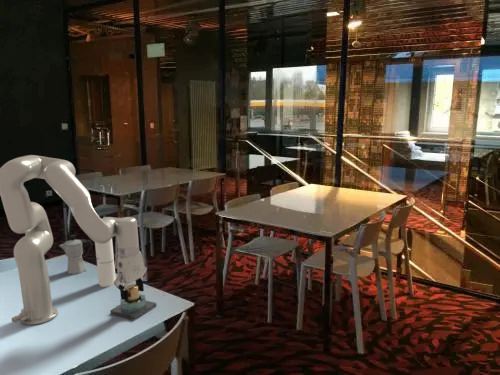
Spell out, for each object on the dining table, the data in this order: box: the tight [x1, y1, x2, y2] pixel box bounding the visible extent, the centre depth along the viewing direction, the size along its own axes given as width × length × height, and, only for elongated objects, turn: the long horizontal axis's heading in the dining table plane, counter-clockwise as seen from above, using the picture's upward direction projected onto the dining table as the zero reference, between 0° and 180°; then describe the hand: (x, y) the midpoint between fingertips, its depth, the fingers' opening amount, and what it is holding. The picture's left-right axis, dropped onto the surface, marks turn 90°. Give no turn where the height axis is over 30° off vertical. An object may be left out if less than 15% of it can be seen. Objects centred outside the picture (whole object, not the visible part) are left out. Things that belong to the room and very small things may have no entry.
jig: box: [110, 293, 157, 321], centre depth 163 cm, size 12×12×4 cm
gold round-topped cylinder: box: [126, 283, 140, 303], centre depth 162 cm, size 5×5×8 cm
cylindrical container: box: [94, 237, 117, 288], centre depth 187 cm, size 7×7×25 cm
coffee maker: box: [58, 234, 94, 276], centre depth 205 cm, size 15×9×18 cm, turn 114°
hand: (132, 294), depth 162 cm, fingers open, 7 cm apart
